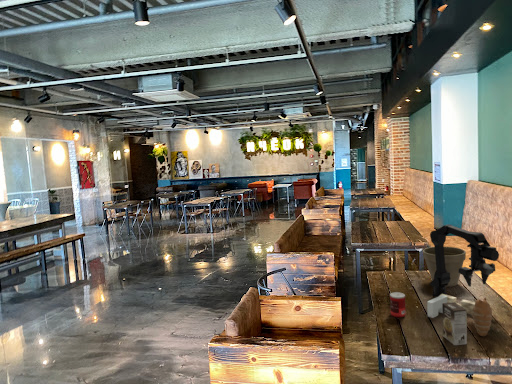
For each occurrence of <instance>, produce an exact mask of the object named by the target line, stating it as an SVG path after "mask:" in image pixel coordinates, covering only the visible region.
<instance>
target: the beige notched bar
mask: <svg viewBox="0 0 512 384" xmlns="http://www.w3.org/2000/svg"><path fill="white" fill-rule="evenodd" d="M441 295H444V296H447V302H448V303H453V302H455V303H457V304H458V305H460V306H461V307H463V308H465V309H466V310H467V315H470V316H471V317H473V315H472V314H473V307H474V306H475V302H476V301H472V300H467V299H462V300H460V302H461V303H458V302H457V297H455V296H452V295H448V294H447V295H445V294H441ZM441 295H440V296H441Z"/></svg>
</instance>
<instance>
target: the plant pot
mask: <svg viewBox="0 0 512 384" xmlns="http://www.w3.org/2000/svg"><path fill="white" fill-rule="evenodd" d="M466 254H467V252H466V250H465V249H462V248H459V247H455V246H444V256H445V268H446V271H447V272H449V273H450V278H451V279H450V282H449V283H448V285H447V286H446V288H447V287H448V288H450V287H451V288H452V287H455V286H458V283H459V281H460V277H461V275H462V274H461V273H459V268H462V267H464V262H465V260H466V258H467V257H466ZM422 258H423V259H424V260H425V263H426V267H427V269H428V273H429V276H430V278H431V281H432V280H433V279H434V273H435V271H436V259H435V248H434V246H431V247H425V248H423V250H422Z"/></svg>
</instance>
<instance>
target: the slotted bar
mask: <svg viewBox="0 0 512 384" xmlns="http://www.w3.org/2000/svg"><path fill="white" fill-rule="evenodd" d="M442 303H448V302H447V296H444V295H441V296H438V297H434V298H432V299H430V300H427V305H426V306H427V307H426V308H427V317H428V318H432V319H434V318H436V317H437V316H439V313H441V314H443V308H442Z"/></svg>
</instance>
